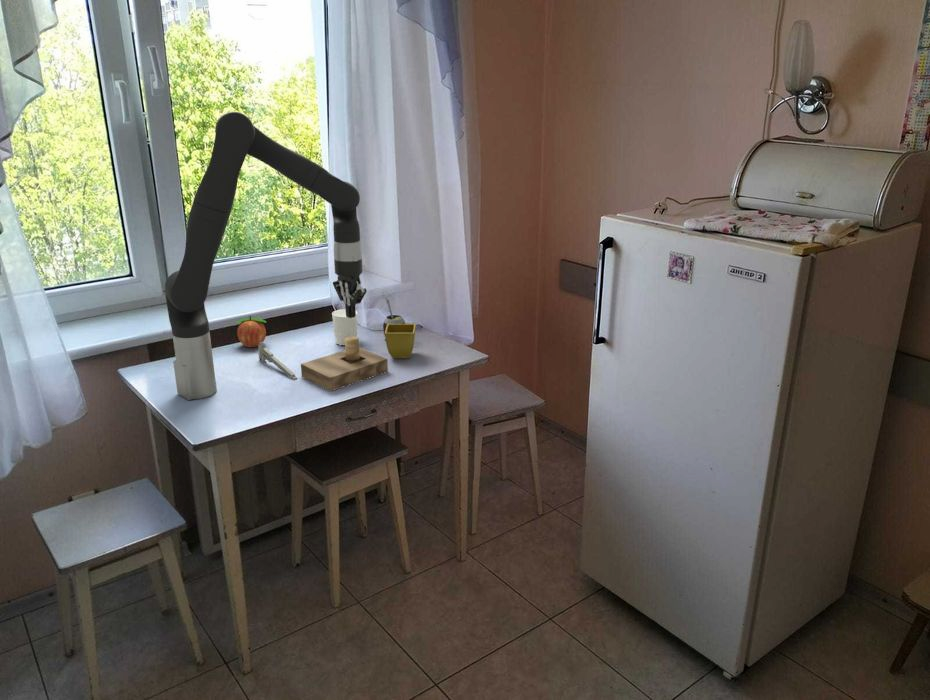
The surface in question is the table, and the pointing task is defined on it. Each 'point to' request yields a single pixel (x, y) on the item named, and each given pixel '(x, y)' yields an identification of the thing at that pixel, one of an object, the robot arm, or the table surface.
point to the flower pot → (400, 339)
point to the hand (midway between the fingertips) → (350, 317)
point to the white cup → (344, 326)
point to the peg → (352, 349)
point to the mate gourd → (392, 318)
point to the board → (343, 369)
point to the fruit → (251, 331)
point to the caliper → (273, 360)
